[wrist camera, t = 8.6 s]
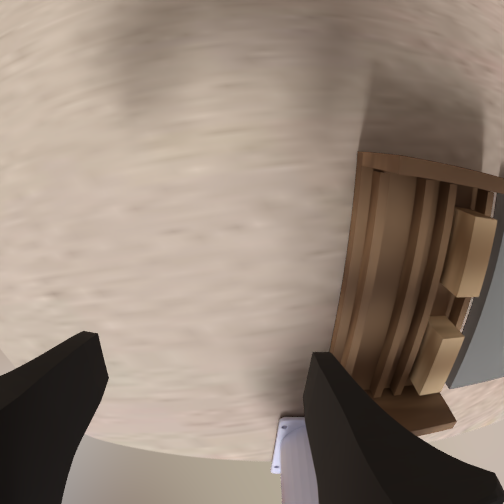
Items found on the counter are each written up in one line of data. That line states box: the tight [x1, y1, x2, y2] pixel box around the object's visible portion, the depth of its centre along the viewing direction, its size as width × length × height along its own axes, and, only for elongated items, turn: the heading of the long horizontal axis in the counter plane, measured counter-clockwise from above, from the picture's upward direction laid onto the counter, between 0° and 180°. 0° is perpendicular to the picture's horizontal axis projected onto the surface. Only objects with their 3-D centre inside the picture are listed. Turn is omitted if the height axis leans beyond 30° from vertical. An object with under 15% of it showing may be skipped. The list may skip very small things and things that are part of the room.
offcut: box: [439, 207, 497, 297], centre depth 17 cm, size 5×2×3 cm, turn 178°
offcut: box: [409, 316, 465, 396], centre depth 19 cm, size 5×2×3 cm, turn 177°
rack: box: [329, 151, 504, 436], centre depth 17 cm, size 18×10×6 cm, turn 178°
